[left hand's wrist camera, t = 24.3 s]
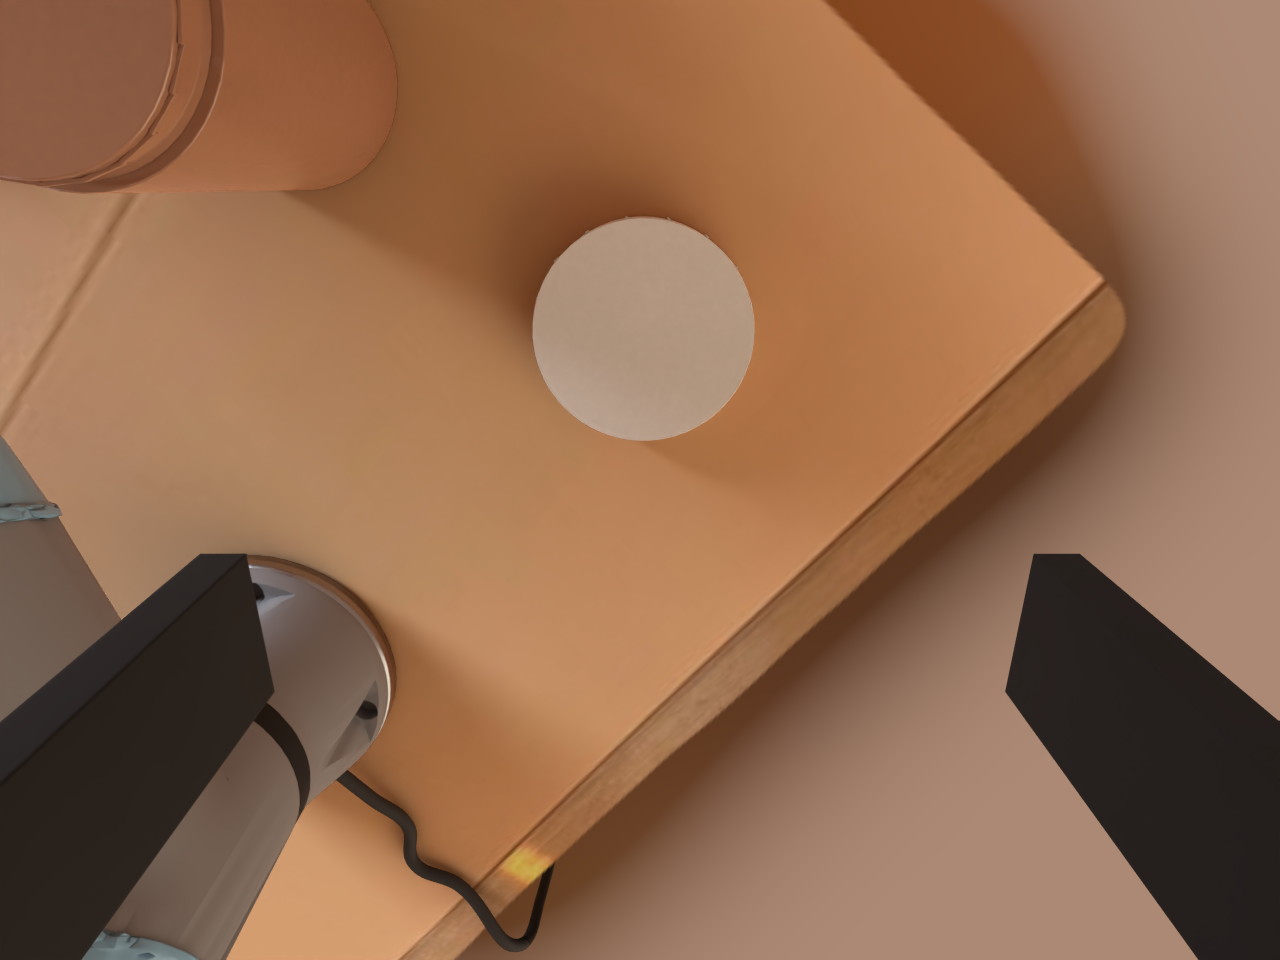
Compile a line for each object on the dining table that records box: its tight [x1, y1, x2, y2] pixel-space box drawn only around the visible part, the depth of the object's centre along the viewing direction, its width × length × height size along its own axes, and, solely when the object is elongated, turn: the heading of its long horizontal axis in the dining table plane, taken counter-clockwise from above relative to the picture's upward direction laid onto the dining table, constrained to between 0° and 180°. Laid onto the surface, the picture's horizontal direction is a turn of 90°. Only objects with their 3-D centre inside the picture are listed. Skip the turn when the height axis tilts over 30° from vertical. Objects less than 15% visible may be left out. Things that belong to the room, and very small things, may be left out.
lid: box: [532, 216, 755, 441], centre depth 38 cm, size 11×11×2 cm
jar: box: [0, 0, 397, 194], centre depth 27 cm, size 10×10×18 cm
